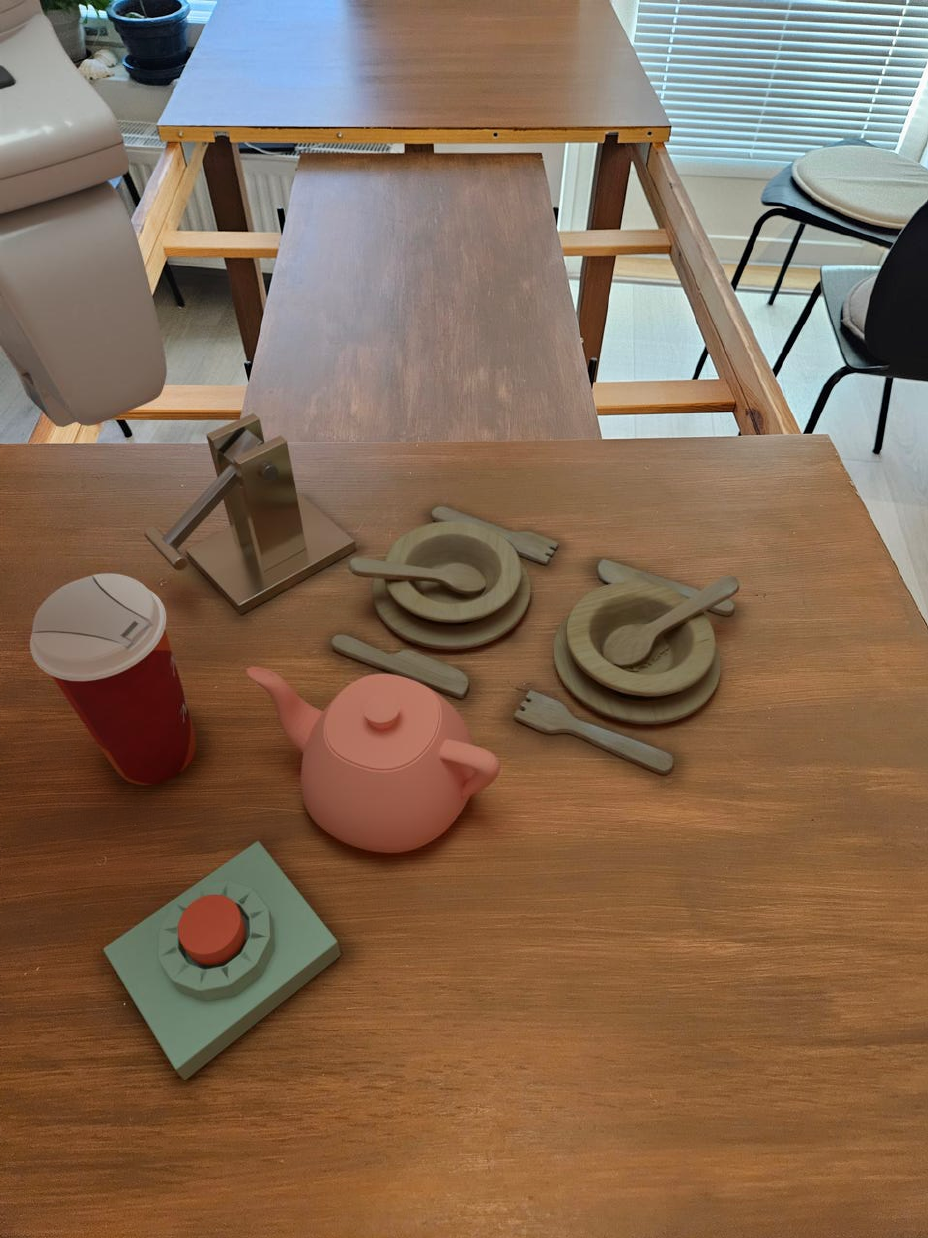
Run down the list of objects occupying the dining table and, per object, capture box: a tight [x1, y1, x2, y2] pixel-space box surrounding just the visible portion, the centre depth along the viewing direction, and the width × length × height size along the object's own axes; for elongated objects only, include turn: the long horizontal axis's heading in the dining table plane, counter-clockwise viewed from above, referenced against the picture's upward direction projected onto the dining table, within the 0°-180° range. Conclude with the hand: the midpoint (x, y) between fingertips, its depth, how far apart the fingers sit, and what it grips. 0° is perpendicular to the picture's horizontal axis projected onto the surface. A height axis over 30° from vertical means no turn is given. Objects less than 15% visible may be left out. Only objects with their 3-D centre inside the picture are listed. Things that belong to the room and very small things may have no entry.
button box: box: [102, 840, 342, 1081], centre depth 54 cm, size 11×9×4 cm
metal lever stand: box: [185, 413, 357, 615], centre depth 75 cm, size 12×9×13 cm
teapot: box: [246, 666, 501, 854], centre depth 61 cm, size 12×18×10 cm
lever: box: [143, 429, 264, 571], centre depth 71 cm, size 12×5×2 cm, turn 131°
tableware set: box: [331, 505, 740, 776], centre depth 72 cm, size 30×20×6 cm, turn 64°
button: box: [178, 895, 246, 966], centre depth 52 cm, size 4×4×2 cm
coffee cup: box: [29, 572, 197, 786], centre depth 60 cm, size 8×8×15 cm
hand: (61, 409), depth 42 cm, fingers closed
